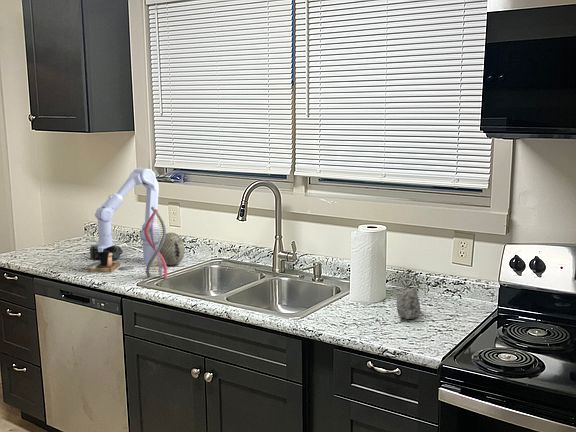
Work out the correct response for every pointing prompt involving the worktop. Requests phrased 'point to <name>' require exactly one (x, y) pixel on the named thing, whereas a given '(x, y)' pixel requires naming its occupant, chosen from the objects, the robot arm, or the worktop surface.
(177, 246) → the decorative egg
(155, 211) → the dna model
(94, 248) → the sculpture
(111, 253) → the pot
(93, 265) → the cold frame
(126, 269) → the coaster
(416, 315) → the rock
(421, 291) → the worktop surface
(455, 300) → the worktop surface
